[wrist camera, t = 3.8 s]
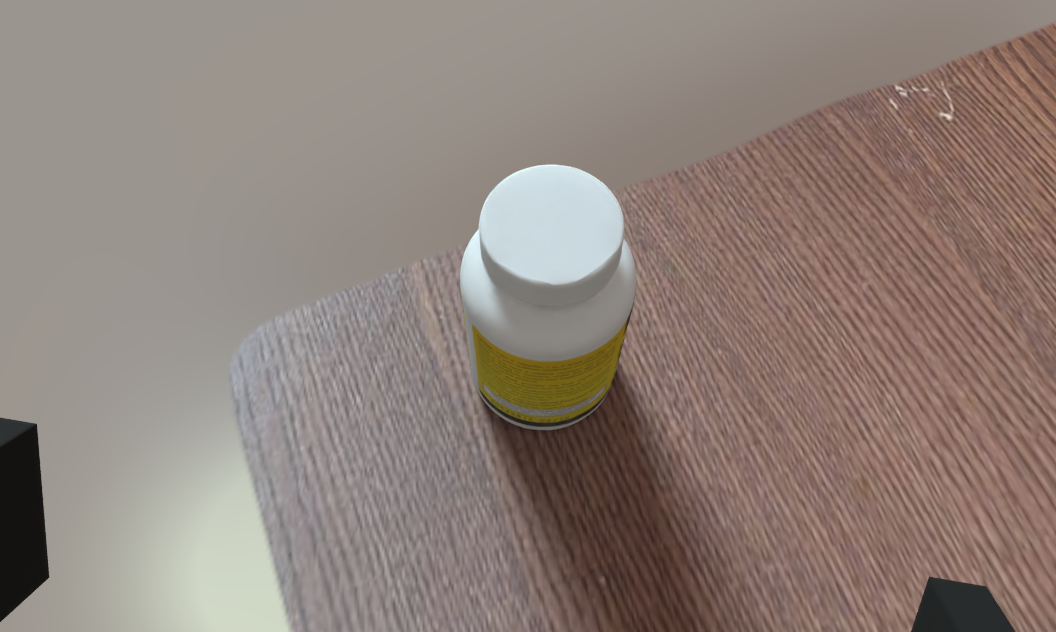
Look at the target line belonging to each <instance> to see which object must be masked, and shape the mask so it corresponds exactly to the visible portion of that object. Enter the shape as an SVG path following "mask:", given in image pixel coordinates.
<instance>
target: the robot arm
mask: <svg viewBox="0 0 1056 632" xmlns="http://www.w3.org/2000/svg"><path fill="white" fill-rule="evenodd" d="M43 508H44V507H43V496H42V483H41V470H40V458H39V446H38V433H37V424H34V423H28V422H22V421H16V420H11V419H5V418H0V622H1V621H2V620H3V619H4V618H5V617H6V616H7V615H9V613H11V612H12V611H13V610H14V609H15V608H16V607H17V606H18V605H20V604H21V603H22V602H23V601H24V600H25V599H26V598H27V597H28V596H29V595H30V594H32V593H33V592H34V591H35V590H36V589H37V588H38V587H39V586H40V585H41V584H42V583H44V582H45V581H46V580H47V579H48V578H49V571H48V557H47V545H46V533H45V520H44V509H43ZM911 632H1015V630H1014V629H1013V627H1012V626H1011V624H1010V623H1009V621H1008V620H1007V618H1006V616H1005V615H1004V613H1003V612H1002V610H1001V609H1000V607H999V606H998V604H997V603H996V601H995V599H994V598H993V596H992V595H991V593H990V592H989V590H988V589H987V587H986V586H980V585H974V584H968V583H962V582H956V581H951V580H945V579H939V578H933V577H929V579H928V582H927V585H926V588H925V591H924V594H923V597H922V600H921V603H920V606H919V609H918V612H917V616H916V619H915V622H914V625H913V628H912V631H911Z"/></svg>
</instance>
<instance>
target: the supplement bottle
mask: <svg viewBox="0 0 1056 632" xmlns="http://www.w3.org/2000/svg"><path fill="white" fill-rule="evenodd" d="M624 229H625V228H624V217H623V213H622V210H621V207H620V205H619V203H618V201H617V199H616V198H615V196H614V194H613V193H612V192H611V191H610V190H609V188H607V186H606V185H605V184H603V183H602V182H601V181H599V180H598V179H597V178H595V177H594V176H592V175H590V174H588V173H587V172H584V171H582V170H579V169H576V168H573V167H569V166H562V165H539V166H534V167H530V168H527V169H523V170H520V171H518V172H516V173H514V174H512V175H510V176H508V177H507V178H505V179H504V180H503V181H501V182H500V183H499V184H498V185H497V186H496V188H494V189H493V191H492V192H491V193H490V194H489V196H488V198H487V200H486V201H485V203H484V205H483V208H482V211H481V214H480V221H479V229H478V230H477V232H476V233H475V234H474V236H473V237H472V239H471V240H470V242H469V244H468V246H467V248H466V251H465V253H464V256H463V260H462V264H461V271H460V288H461V299H462V306H463V313H464V320H465V326H466V335H467V342H468V350H469V359H470V366H471V370H472V375H473V380H474V383H475V385H476V388H477V390H478V392H479V394H480V396H481V397H482V399H483V400H484V402H485V403H486V404H487V405H488V406H489V408H491V409H492V410H493V411H494V412H495V413H496V414H497V415H499V416H500V417H501V418H503V419H504V420H506V421H508V422H510V423H512V424H514V425H517V426H520V427H523V428H527V429H533V430H554V429H560V428H564V427H567V426H570V425H572V424H575V423H577V422H579V421H581V420H582V419H584V418H586V417H587V416H588V415H590V414H591V413H592V412H593V411H594V410H595V409H596V408H598V406H599V405H600V404H601V403H602V402H603V400H604V399H605V397H606V396H607V394H608V392H609V390H610V388H611V385H612V383H613V379H614V376H615V373H616V370H617V365H618V362H619V358H620V354H621V350H622V346H623V342H624V338H625V334H626V330H627V326H628V323H629V319H630V315H631V312H632V308H633V304H634V299H635V292H636V268H635V263H634V260H633V256H632V253H631V251H630V249H629V246H628V244H627V243H626V241H625V239H624Z"/></svg>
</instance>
